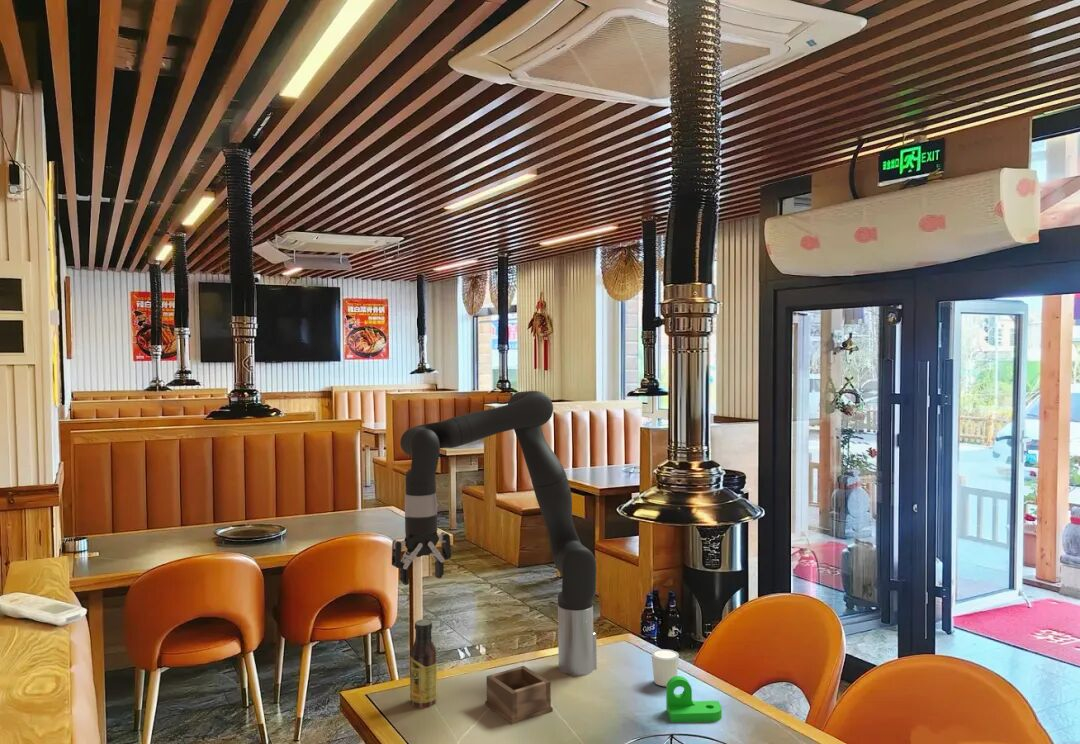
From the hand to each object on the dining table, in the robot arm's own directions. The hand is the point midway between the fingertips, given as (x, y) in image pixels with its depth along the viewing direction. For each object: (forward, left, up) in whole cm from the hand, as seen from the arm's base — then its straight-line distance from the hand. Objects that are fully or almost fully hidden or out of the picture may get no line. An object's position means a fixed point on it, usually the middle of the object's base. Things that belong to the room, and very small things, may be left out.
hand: (422, 580), depth 183 cm
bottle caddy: (-17, +15, -30) cm, 37 cm away
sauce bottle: (0, 0, -30) cm, 30 cm away
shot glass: (-55, +24, -30) cm, 67 cm away
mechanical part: (-48, +41, -30) cm, 70 cm away
